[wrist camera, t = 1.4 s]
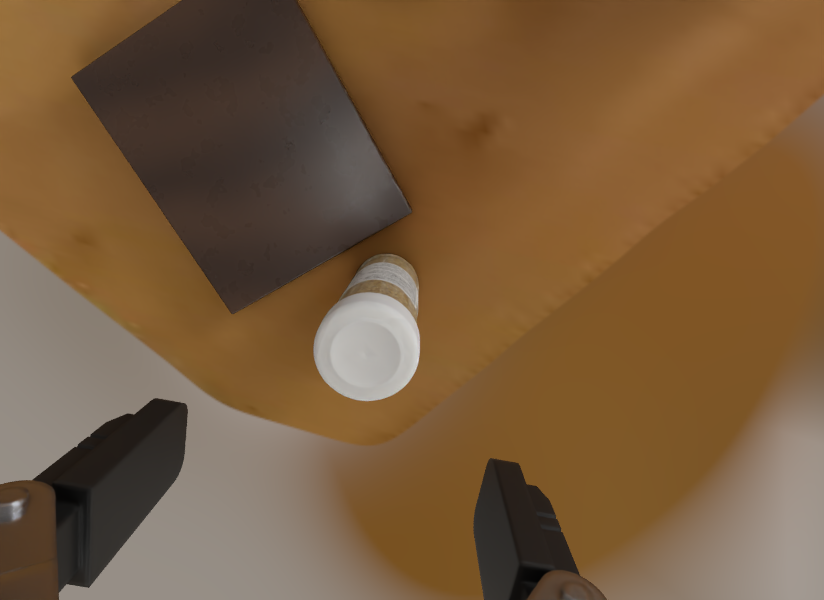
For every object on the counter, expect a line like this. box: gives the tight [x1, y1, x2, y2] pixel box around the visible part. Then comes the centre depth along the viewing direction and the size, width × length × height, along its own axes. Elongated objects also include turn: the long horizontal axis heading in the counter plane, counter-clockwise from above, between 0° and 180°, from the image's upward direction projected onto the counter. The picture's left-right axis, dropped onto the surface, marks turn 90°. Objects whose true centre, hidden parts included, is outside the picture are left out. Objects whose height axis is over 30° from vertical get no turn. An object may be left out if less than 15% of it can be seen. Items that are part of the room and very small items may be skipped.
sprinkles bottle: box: [314, 254, 420, 401], centre depth 26 cm, size 5×5×13 cm
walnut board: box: [71, 0, 412, 314], centre depth 30 cm, size 17×14×2 cm
